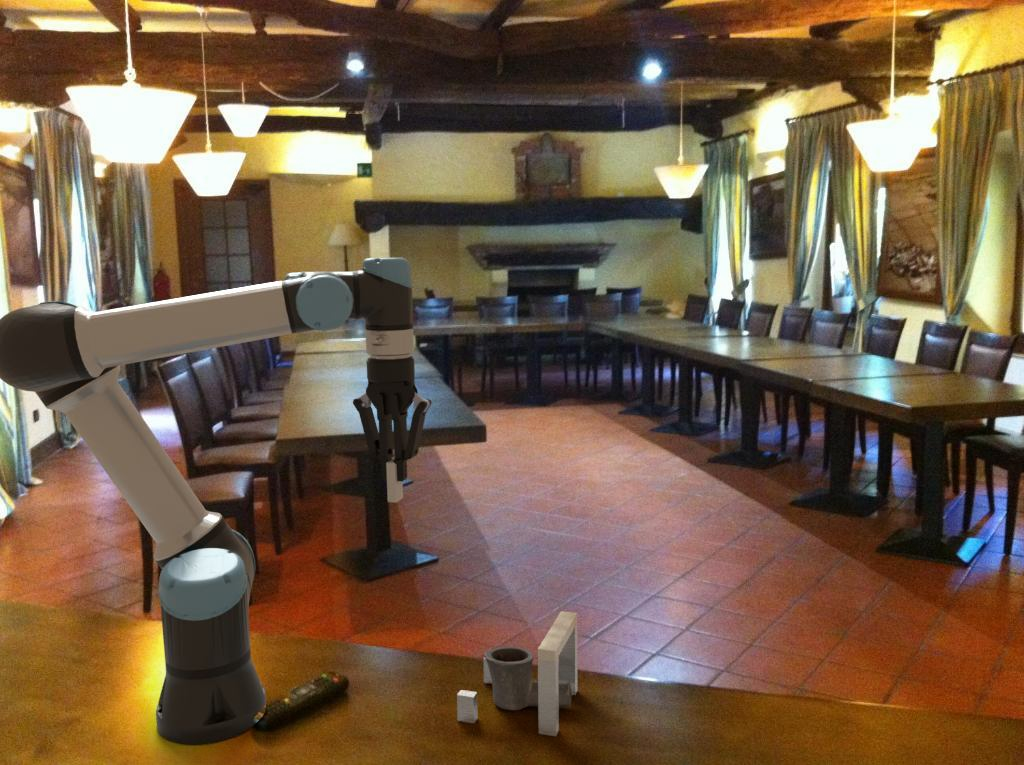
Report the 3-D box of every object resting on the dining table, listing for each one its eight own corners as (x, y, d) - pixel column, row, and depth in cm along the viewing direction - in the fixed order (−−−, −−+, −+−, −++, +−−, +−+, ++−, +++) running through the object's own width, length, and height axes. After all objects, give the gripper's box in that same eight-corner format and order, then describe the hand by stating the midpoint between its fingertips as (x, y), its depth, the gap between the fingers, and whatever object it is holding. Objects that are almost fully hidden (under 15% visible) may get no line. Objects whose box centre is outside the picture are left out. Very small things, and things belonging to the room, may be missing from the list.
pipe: (568, 719, 126) (568, 667, 125) (481, 713, 128) (480, 661, 127) (572, 698, 132) (572, 648, 130) (488, 692, 134) (487, 643, 132)
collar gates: (457, 721, 126) (455, 638, 124) (487, 678, 138) (485, 602, 136) (556, 736, 121) (555, 651, 119) (577, 690, 134) (577, 612, 132)
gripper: (342, 357, 138) (348, 503, 141) (418, 359, 134) (423, 509, 138) (363, 352, 145) (369, 490, 148) (437, 353, 141) (441, 496, 145)
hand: (395, 499), depth 143 cm, fingers closed
